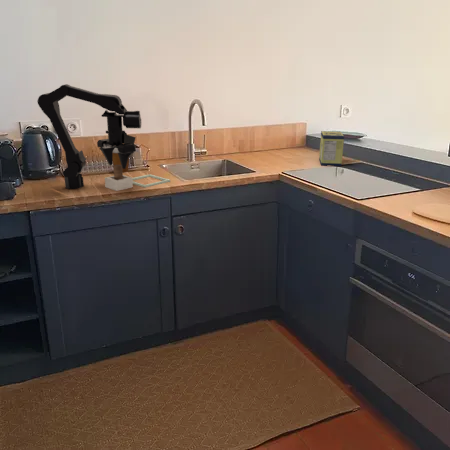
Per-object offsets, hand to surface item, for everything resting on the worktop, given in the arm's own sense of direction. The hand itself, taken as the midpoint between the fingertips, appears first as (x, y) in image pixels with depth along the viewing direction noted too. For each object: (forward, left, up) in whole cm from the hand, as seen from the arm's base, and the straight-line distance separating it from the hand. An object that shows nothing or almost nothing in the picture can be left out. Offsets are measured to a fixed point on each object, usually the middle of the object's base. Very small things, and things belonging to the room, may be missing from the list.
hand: (117, 166), depth 193 cm
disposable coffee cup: (+19, +25, -10) cm, 33 cm away
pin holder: (0, 0, -10) cm, 10 cm away
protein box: (+108, -35, -10) cm, 114 cm away
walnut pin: (0, 0, -9) cm, 9 cm away
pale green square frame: (+14, -1, -10) cm, 17 cm away
